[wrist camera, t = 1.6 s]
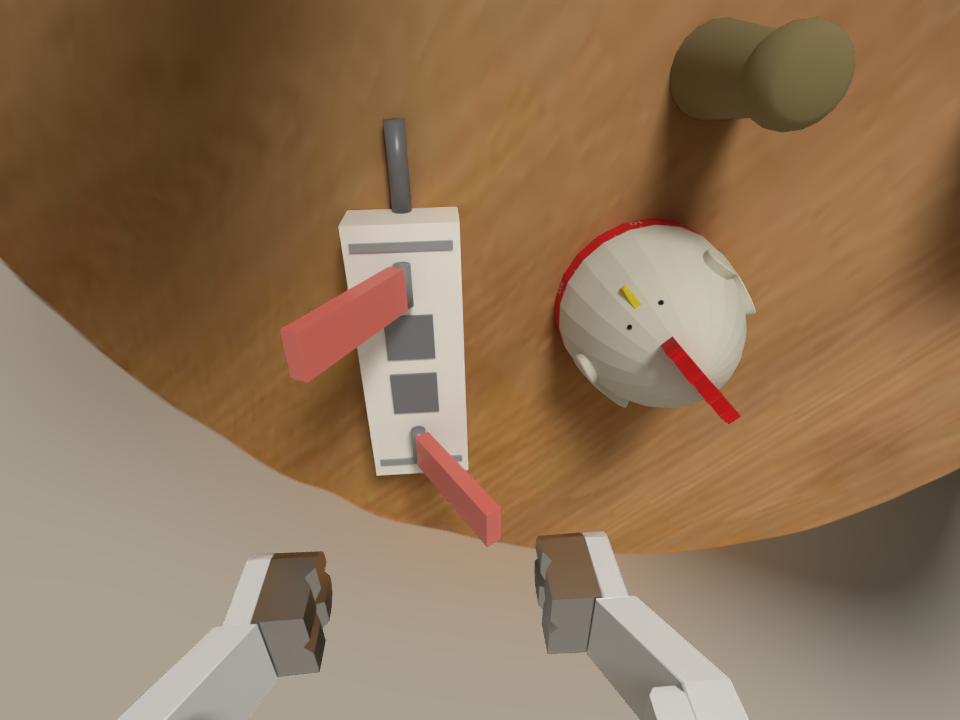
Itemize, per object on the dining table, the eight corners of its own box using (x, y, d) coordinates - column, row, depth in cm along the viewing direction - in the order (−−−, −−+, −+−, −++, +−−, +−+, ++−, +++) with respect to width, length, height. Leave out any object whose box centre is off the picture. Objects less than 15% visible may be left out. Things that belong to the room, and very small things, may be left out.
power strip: (334, 120, 35) (322, 128, 31) (453, 116, 35) (455, 124, 32) (380, 445, 49) (376, 477, 46) (466, 441, 50) (468, 471, 46)
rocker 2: (408, 429, 43) (486, 516, 35) (421, 424, 43) (501, 508, 35) (410, 457, 44) (486, 546, 36) (423, 452, 45) (501, 538, 37)
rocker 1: (399, 260, 36) (279, 329, 27) (413, 263, 36) (296, 333, 27) (402, 301, 38) (291, 378, 29) (417, 303, 37) (307, 382, 28)
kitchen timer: (662, 180, 39) (774, 244, 26) (750, 301, 44) (878, 403, 32) (520, 302, 43) (557, 411, 30) (617, 398, 49) (683, 524, 36)
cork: (689, 138, 37) (775, 168, 28) (655, 56, 35) (738, 59, 25) (771, 85, 36) (890, 97, 26) (742, -5, 33) (864, -27, 24)
